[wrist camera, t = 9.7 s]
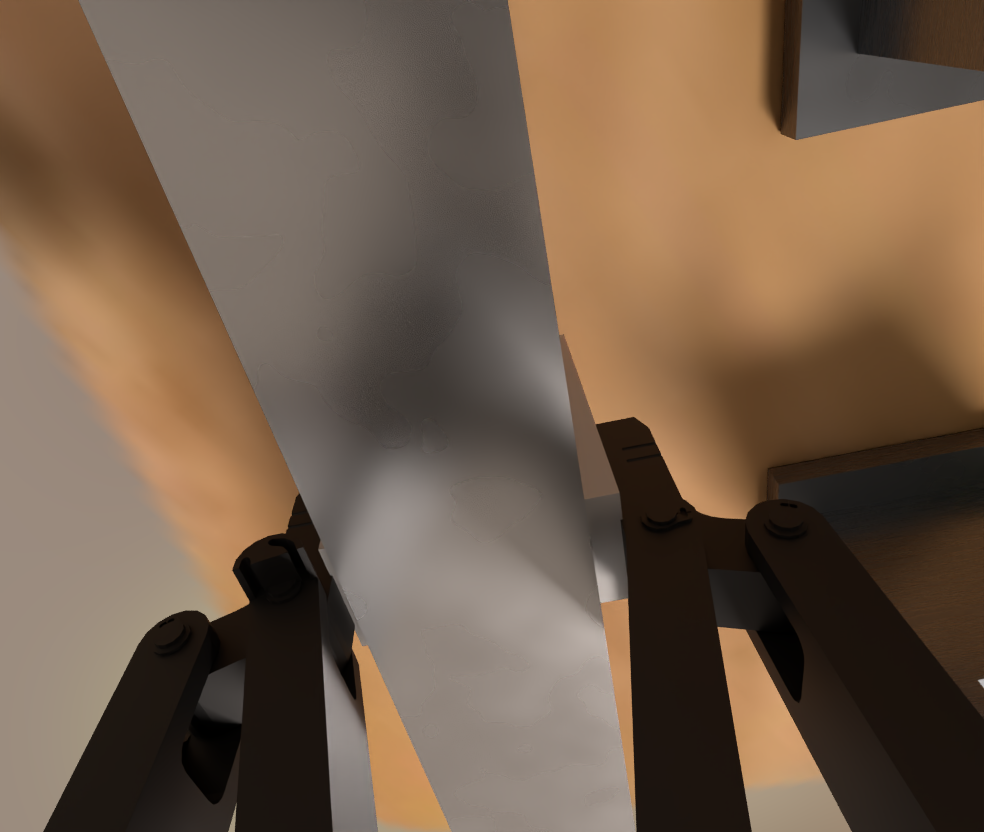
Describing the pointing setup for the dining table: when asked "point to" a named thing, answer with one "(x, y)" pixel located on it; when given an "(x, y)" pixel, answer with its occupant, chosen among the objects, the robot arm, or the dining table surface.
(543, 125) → the dining table surface
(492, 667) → the rail
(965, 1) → the post
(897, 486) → the post
